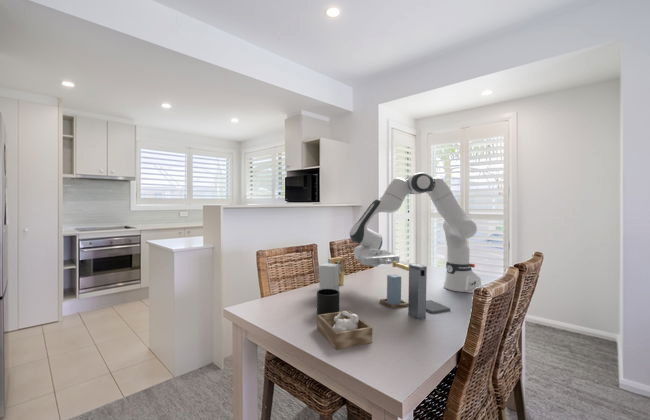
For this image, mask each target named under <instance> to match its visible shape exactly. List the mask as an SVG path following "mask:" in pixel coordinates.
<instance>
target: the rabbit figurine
mask: <svg viewBox="0 0 650 420" xmlns="http://www.w3.org/2000/svg"><path fill="white" fill-rule="evenodd" d="M342 311H343V312H342ZM342 311H341V312H342V314H343V315H345V316H348V317H350V319H343V320H342V319H339V318H340V317H341V316H339V315H340V314H341V313H339V314H338V315H337V316H335V318H334V321H336V323H335V325H334V326H333V328H334V329H335V330H336V331H337V332H344V331H349V330H355V329H358V325H357V323H358V321H359V319H358V317H359V315H357V314H356V313H353V314H352V315H351V314H350V313H348V312H346V311H347V310H342Z"/></svg>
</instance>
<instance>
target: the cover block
mask: <svg viewBox="0 0 650 420" xmlns="http://www.w3.org/2000/svg"><path fill="white" fill-rule="evenodd" d="M386 298H387V303H388V304H390V305H397V304H402V303H401V300H402V276H400V275H398V274H387V275H386Z"/></svg>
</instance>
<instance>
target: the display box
mask: <svg viewBox="0 0 650 420" xmlns="http://www.w3.org/2000/svg"><path fill="white" fill-rule="evenodd" d="M343 311H344V310H342V311H339V312H335V313H328V314H321V315H318V314H317V315H316V328H317V330H318V332H320V333H321V334H322V336H324V338H325V339H326V340H327V341H328V342H329V343H330V344H331V345H332V347H333V348H334V349H335V350H341V349H345V348H346V349H347V348H350V347H356V346H357V347H358V346H360V345H361V346H363V345H365V344H372V343H373V327H372V326H371V325H370V324H368V323H366V321H364V320H362V319H361V318H360V317H359V316H358V319H359V321H358V323H357V325H358V329H355V330H349V331H344V332H337V331H336V330H335V329H334V328H333V326H334V325H335V323H336V321H334V318H335V316H337V315H338V314H339V313H341V314H340V315H339V316H341V317H340V318H339V319H342V320H343V319H350V317H348V316H345V315H343V314H342V312H343ZM345 311H346V312H348V313H350V314H351V315H352V314H354V313H353V312H352V311H351V310H345Z"/></svg>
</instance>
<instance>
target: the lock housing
mask: <svg viewBox="0 0 650 420" xmlns="http://www.w3.org/2000/svg"><path fill="white" fill-rule="evenodd" d="M408 266H409V271H408V300H407V301H408V302H407V303H408V306H407V308H408V309H407V311H408V312H407V314H408V315H409V316H410V317H412V318H415V320H423V319H426V318H427V311H426V301H427V269H428V268H427V267H428V266H426V265H422V264H419V263H412V264H411V263H410V264H409V263H408Z"/></svg>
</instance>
